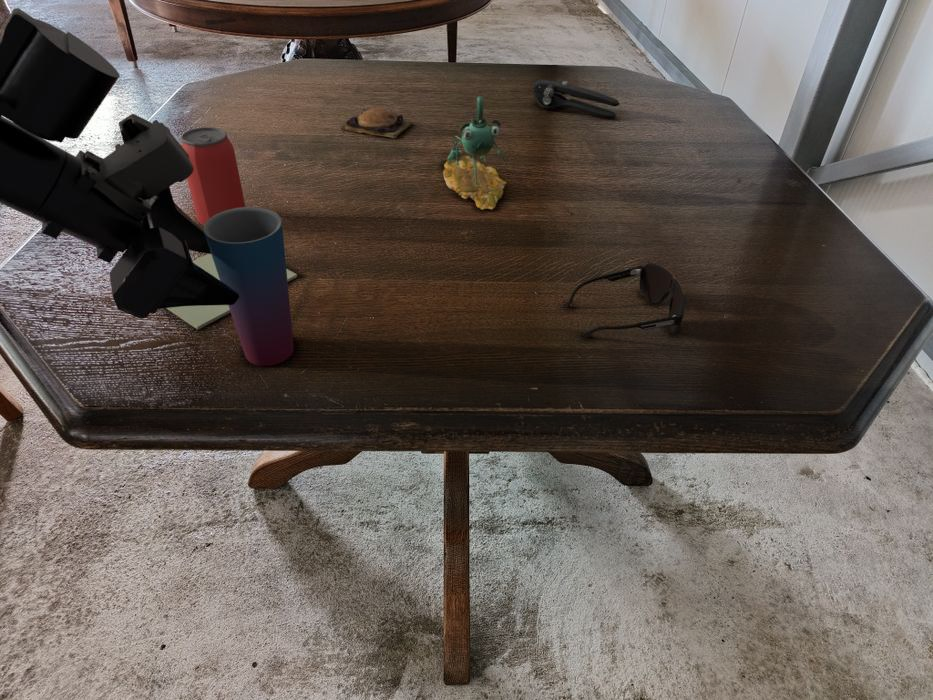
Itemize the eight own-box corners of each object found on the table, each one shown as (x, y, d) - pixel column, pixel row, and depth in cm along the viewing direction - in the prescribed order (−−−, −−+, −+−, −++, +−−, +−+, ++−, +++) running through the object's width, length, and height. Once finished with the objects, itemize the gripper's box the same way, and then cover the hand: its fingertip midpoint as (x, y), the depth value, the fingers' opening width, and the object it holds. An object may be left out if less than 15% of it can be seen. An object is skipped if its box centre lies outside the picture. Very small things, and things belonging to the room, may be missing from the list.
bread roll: (413, 125, 118) (413, 105, 116) (394, 140, 112) (393, 120, 109) (363, 115, 120) (362, 96, 118) (341, 130, 114) (339, 109, 112)
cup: (293, 324, 70) (272, 201, 60) (309, 361, 65) (289, 234, 56) (230, 339, 67) (197, 214, 58) (242, 379, 63) (209, 249, 53)
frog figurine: (488, 159, 107) (498, 72, 96) (517, 220, 95) (532, 128, 84) (433, 162, 105) (437, 73, 94) (455, 224, 93) (463, 130, 82)
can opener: (526, 109, 127) (529, 80, 123) (536, 99, 132) (539, 71, 128) (612, 125, 122) (618, 95, 118) (619, 114, 127) (625, 85, 123)
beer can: (202, 235, 84) (180, 148, 76) (194, 213, 88) (172, 129, 81) (252, 225, 86) (235, 140, 79) (242, 205, 91) (225, 122, 83)
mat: (197, 330, 68) (196, 327, 68) (137, 288, 74) (136, 286, 74) (297, 277, 77) (297, 274, 77) (236, 243, 83) (236, 241, 82)
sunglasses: (691, 339, 71) (698, 303, 67) (591, 360, 69) (593, 325, 66) (651, 286, 79) (656, 253, 75) (560, 305, 77) (561, 271, 74)
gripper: (113, 145, 40) (305, 257, 51) (98, 63, 52) (255, 167, 64) (22, 275, 42) (226, 356, 53) (29, 167, 55) (193, 250, 66)
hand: (226, 273), depth 59 cm, fingers open, 9 cm apart
